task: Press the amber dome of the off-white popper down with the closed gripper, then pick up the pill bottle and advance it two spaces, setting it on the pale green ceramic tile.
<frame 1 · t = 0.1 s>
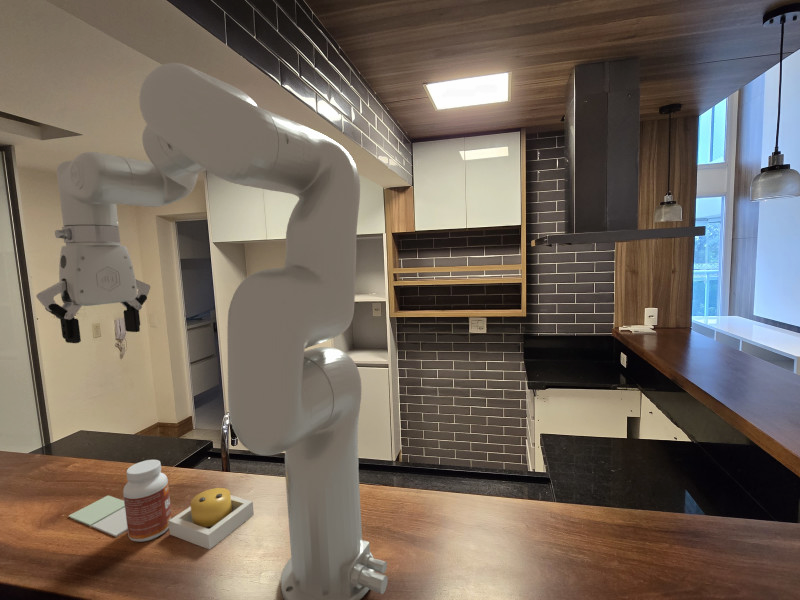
hand: (104, 336, 71), 31 cm above the countertop, fingers open, 9 cm apart
space 2: (99, 510, 72), on the countertop
space 1: (124, 520, 70), on the countertop
dome: (211, 506, 67), point 3 cm above the countertop, slide at 0.0 cm
pill bottle: (151, 531, 67), on the countertop
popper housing: (213, 524, 68), on the countertop
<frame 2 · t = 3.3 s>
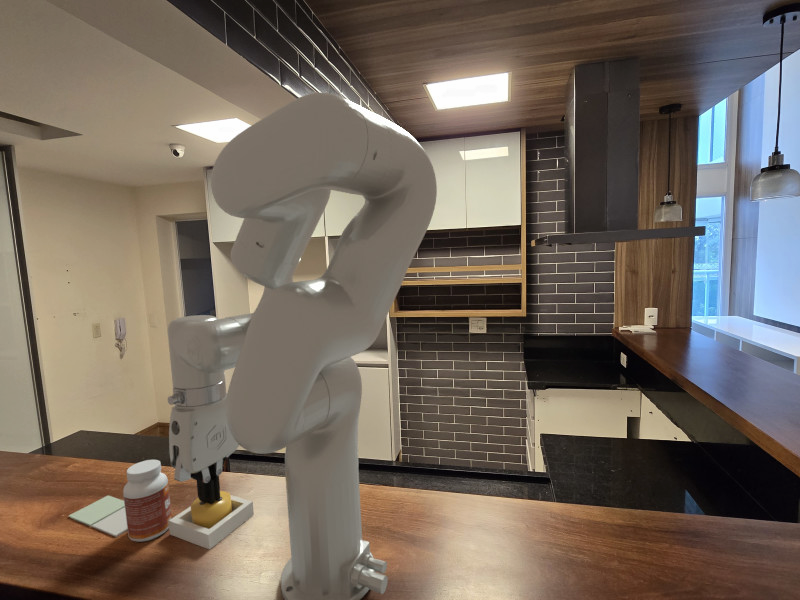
hand: (209, 499, 67), 4 cm above the countertop, fingers closed
dome: (211, 509, 67), point 3 cm above the countertop, slide at 0.6 cm, touching gripper
everything else where it was.
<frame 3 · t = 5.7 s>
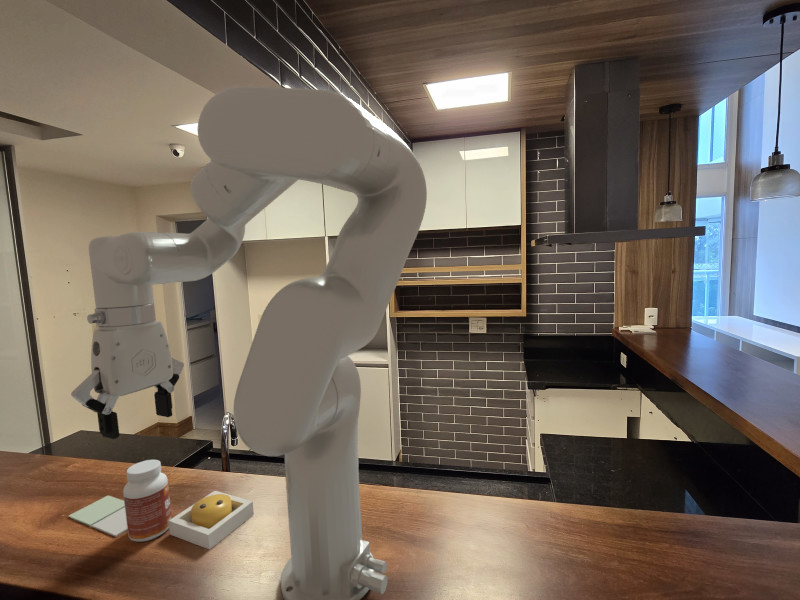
hand: (139, 425, 65), 18 cm above the countertop, fingers open, 8 cm apart
dome: (212, 512, 67), point 2 cm above the countertop, slide at 1.1 cm
everything else where it was.
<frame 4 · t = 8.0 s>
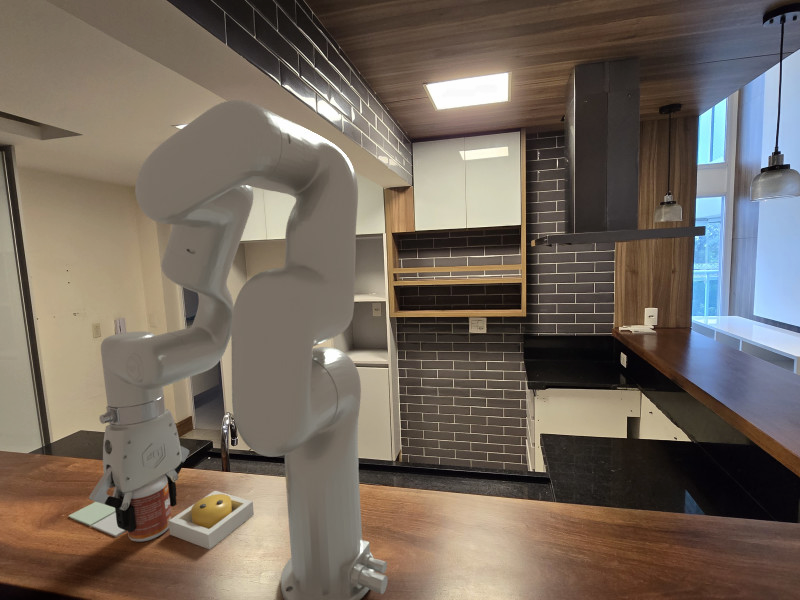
hand: (149, 515, 66), 3 cm above the countertop, fingers closed on pill bottle, 6 cm apart
pill bottle: (150, 531, 67), on the countertop, touching gripper
everything else where it was.
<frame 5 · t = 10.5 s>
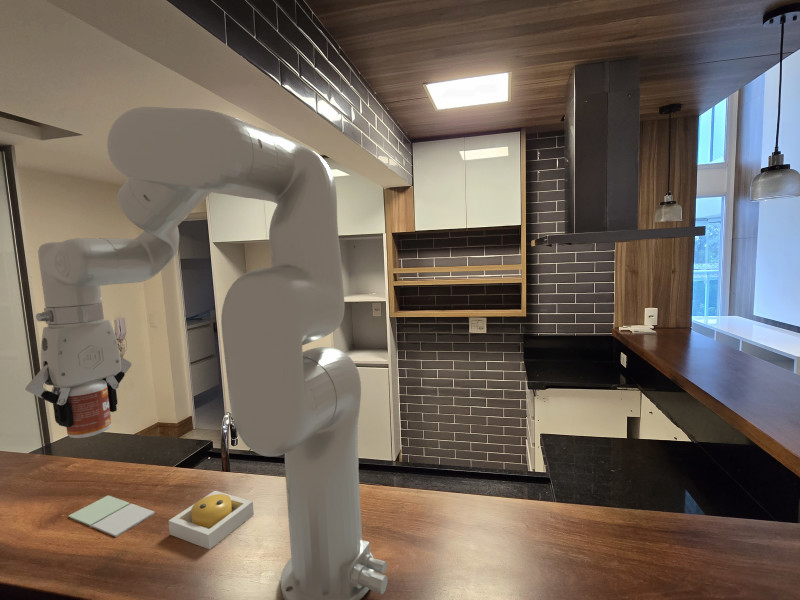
hand: (88, 416, 71), 17 cm above the countertop, fingers closed on pill bottle, 6 cm apart
pill bottle: (90, 432, 71), point 15 cm above the countertop, touching gripper
everything else where it was.
when the fingers open (4 cm above the countertop, at t = 13.4 s): pill bottle stays where it is, resting on space 2.
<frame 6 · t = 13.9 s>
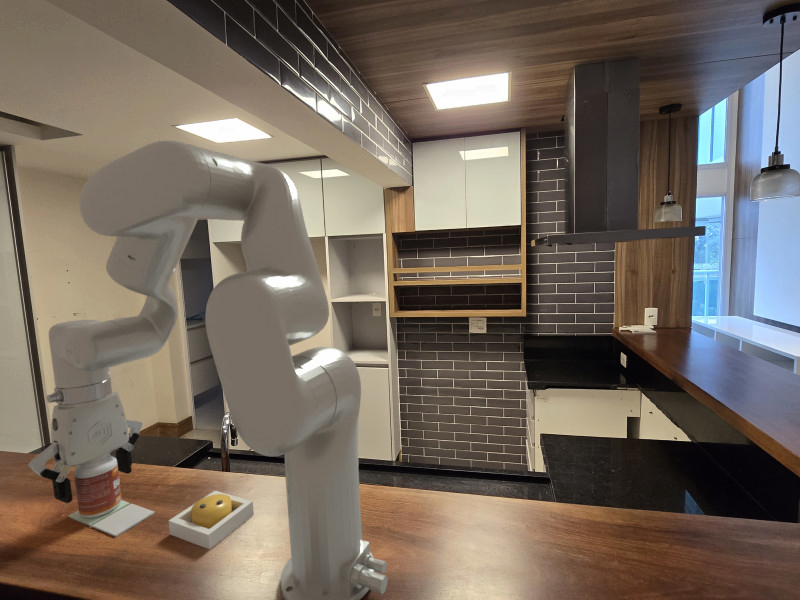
hand: (96, 485, 72), 5 cm above the countertop, fingers open, 9 cm apart
pill bottle: (101, 509, 73), resting on space 2
everything else where it was.
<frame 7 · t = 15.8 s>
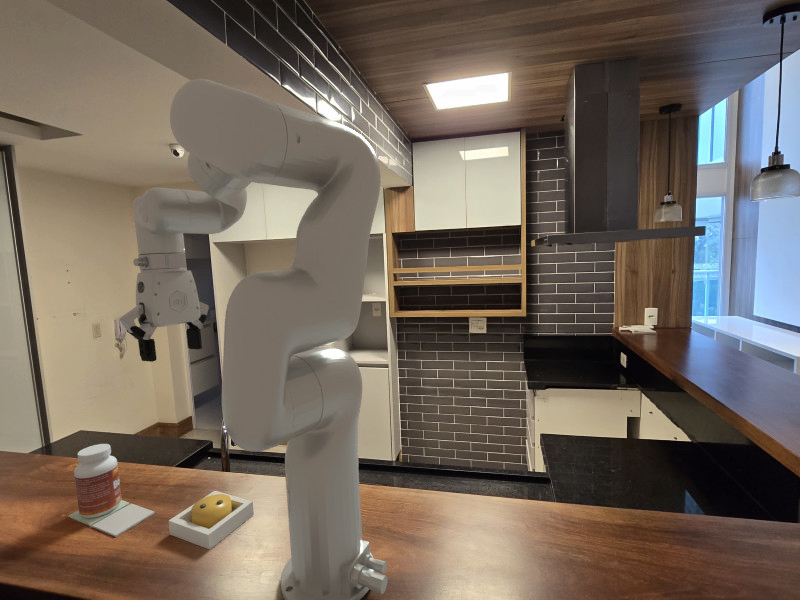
hand: (173, 354, 77), 26 cm above the countertop, fingers open, 9 cm apart
nothing on the countertop moved.
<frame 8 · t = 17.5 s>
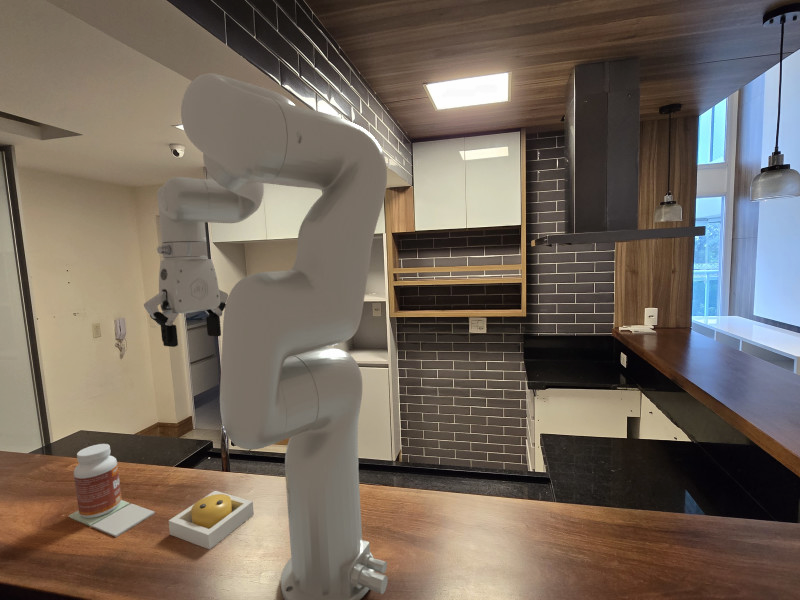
hand: (193, 340, 79), 28 cm above the countertop, fingers open, 9 cm apart
nothing on the countertop moved.
at the end: pill bottle 0.2 cm from the space 2 (horizontally); pill bottle tilted 0°; dome slide at 1.1 cm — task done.
